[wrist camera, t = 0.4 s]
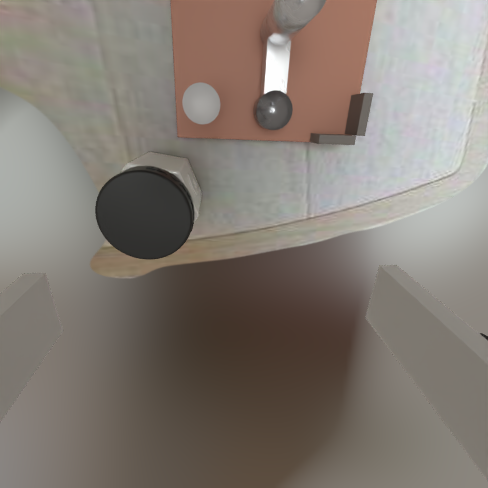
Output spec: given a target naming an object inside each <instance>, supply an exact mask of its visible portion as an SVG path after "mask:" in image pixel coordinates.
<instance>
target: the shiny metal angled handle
mask: <svg viewBox="0 0 488 488" xmlns="http://www.w3.org/2000/svg"><path fill="white" fill-rule="evenodd" d="M325 2H326V0H274V2H273V4H272V6H271V8H270V9H269V11H268V13H267V15H266V17H265V19H264V21H263V23H262V25H261V29H260V37H261V41H262V43H263V61H262V79H261V96H260V97H259V98H258V99H257V101H256V102H255V105H254V109H253V114H254V118H255V121H256V122H257V124H258V125H259V126H261V127H262V128H265V129H269V130H279V129H281V128H283V127H284V126H286V125H287V124H288V122H289V121H290V119H291V116H292V112H293V107H292V102H291V100H290V98H289V97H288V96H287V95H286V92H287V81H288V70H289V58H290V47H291V40H292V39H293V38H294V37H295V36H296V35H297V34H298V33H299V32H300V31H301V30H302V29H303V28H304V27H305V26H306V25H307V24H308V23H309V22H310V21H311V20H312V19H313V18H314V17H315V16H316V15H317V14H318V13H319V12H320V11H321V9H322V8H323V6H324V4H325Z"/></svg>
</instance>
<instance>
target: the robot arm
mask: <svg viewBox="0 0 488 488" xmlns="http://www.w3.org/2000/svg"><path fill="white" fill-rule="evenodd" d="M365 318H366V319H367V320H368V322H369V323H370V325H371V326H372V327H373V329H374V330H375V331H376V333H377V334H378V335H379V337H380V338H381V339H382V341H383V342H384V343H385V345H386V346H387V347H388V349H389V350H390V351H391V353H392V354H393V355H394V357H395V358H396V359H397V360H398V362H399V363H400V364H401V366H402V367H403V369H404V370H405V371H406V373H407V374H408V375H409V377H410V378H411V379H412V381H413V382H414V383H415V385H416V386H417V387H418V389H419V390H420V391H421V393H422V394H423V395H424V397H425V398H426V399H427V401H428V402H429V404H430V405H431V406H432V408H433V409H434V410H435V411H436V413H437V414H438V415H439V417H440V418H441V420H442V421H443V422H444V424H445V425H446V426H447V428H448V429H449V430H450V432H451V433H452V434H453V436H454V437H455V438H456V440H457V441H458V442H459V444H460V445H461V446H462V447H463V449H464V450H465V452H466V453H467V454H468V456H469V457H470V458H471V460H472V461H473V462H474V464H475V465H476V466H477V468H478V469H479V470H480V472H481V473H482V474H483V476H484V477H485V478H486V480H487V481H488V336H486V335H484V334H482V333H480V334H479V333H478V332H477V331H476V330H474V329H473V328H472V327H471V326H470V325H468V324H467V323H466V322H465V321H464V320H462V319H461V318H460V317H459V316H458V315H456V314H455V313H454V312H453V311H451V310H450V309H449V308H448V307H447V306H445V305H444V304H443V303H442V302H441V301H439V300H438V299H437V298H436V297H435V296H433V295H432V294H431V293H429V291H427V290H426V289H425V288H424V287H422V286H421V285H420V284H419V283H418V282H416V281H415V280H414V279H413V278H412V277H410V276H409V275H408V274H407V273H406V272H404V271H403V270H402V269H401V268H399V267H398V266H397V265H380V266H379V269H378V273H377V276H376V280H375V284H374V287H373V291H372V295H371V298H370V302H369V306H368V310H367V313H366V317H365ZM62 332H63V328H62V325H61V322H60V318H59V315H58V312H57V309H56V305H55V302H54V299H53V295H52V293H51V289H50V286H49V282H48V279H47V276H46V273H27V274H25V273H24V274H22V275H21V276H20V277H19V278H17V279H16V280H15V281H14V282H13V283H12V284H10V285H9V286H8V287H7V288H6V289H5V290H3V291H2V292H1V293H0V422H1V421H2V420H3V418H4V417H5V415H6V414H7V412H8V411H9V409H10V408H11V407H12V405H13V404H14V402H15V401H16V399H17V398H18V396H19V395H20V393H21V392H22V390H23V389H24V388H25V386H26V385H27V383H28V382H29V380H30V379H31V377H32V376H33V374H34V373H35V371H36V370H37V368H38V367H39V366H40V364H41V362H42V361H43V360H44V358H45V356H46V355H47V354H48V352H49V351H50V350H51V348H52V347H53V345H54V344H55V342H56V341H57V339H58V338H59V336H60V335H61V333H62Z"/></svg>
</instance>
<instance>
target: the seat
mask: <svg viewBox="0 0 488 488" xmlns="http://www.w3.org/2000/svg"><path fill="white" fill-rule="evenodd" d="M273 2H274V0H171V19H172V38H173V57H174V76H175V95H176V114H177V133H178V137H184V138H212V139H240V140H268V141H296V142H314V143H318V144H342V145H354V144H355V139H356V136H352V135H357V136H365V132H366V127H367V122H368V117H369V112H370V107H371V102H372V97H373V93H361V94H360V90H361V84H362V79H363V74H364V68H365V63H366V57H367V52H368V46H369V41H370V35H371V30H372V24H373V19H374V14H375V8H376V3H377V0H326V2H325V4H324V6H323V8H322V9H321V11H320V12H319V13H318V14H317V15H316V16H315V17H314V18H313V19H312V20H311V21H310V22H309V23H308V24H307V25H306V26H305V27H304V28H303V29H302V30H301V31H300V32H299V33H298V34H297V35H296V36H295V37H294V38H293V39H292V40H291V47H290V58H289V70H288V81H287V92H286V95H287V96H288V97H289V98H290V100H291V102H292V107H293V112H292V116H291V119H290V121H289V122H288V124H287V125H286V126H284V127H283V128H281V129H279V130H269V129H265V128H262V127H261V126H259V125H258V124H257V122H256V121H255V118H254V114H253V109H254V105H255V102H256V101H257V99H258V98H259V97H260V96H261V79H262V61H263V43H262V41H261V37H260V29H261V25H262V23H263V21H264V19H265V17H266V15H267V13H268V11H269V9H270V8H271V6H272V4H273Z"/></svg>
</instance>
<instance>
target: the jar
mask: <svg viewBox="0 0 488 488" xmlns="http://www.w3.org/2000/svg"><path fill="white" fill-rule="evenodd" d="M201 196H202V192H201V190H200V187H199V185H198V182H197V180H196V178H195V175H194V173H193V171H192V168H191V166H190V163H189V161H188V159H186V158H181V157H176V156H170V155H165V154H159V153H154V152H147V153H146V154H144V155H142V156H140V157H138V158H136V159H134V160H132V161H130V162H128V163H127V164H126V165H125V167H124V168H123V169H122V171H121V172H120V173H119V174H118V175H116V176H114V177H113V178H111V179H110V180H109V181H108V182H107V183H106V184H105V185H104V186H103V187H102V189H101V191H100V192H99V195H98V197H97V201H96V208H95V213H96V219H97V223H98V226H99V228H100V230H101V232H102V234H103V235H104V237H105V238H106V239H107V241H108V242H109V243H110V244H111V245H113V246H114V247H115V248H116V249H118V250H119V251H121V252H122V253H125V254H127V255H129V256H132V257H135V258H139V259H158V258H163V257H166V256H168V255H170V254H172V253H174V252H175V251H177V250H178V249H179V248H180V247H181V246H182V245H183V244H184V243H185V242H186V240H187V239H188V237H189V235H190V232H191V231H192V228H193V224H194V222H195V220H196V219H197V218H198V216H199V210H200V203H201Z"/></svg>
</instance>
